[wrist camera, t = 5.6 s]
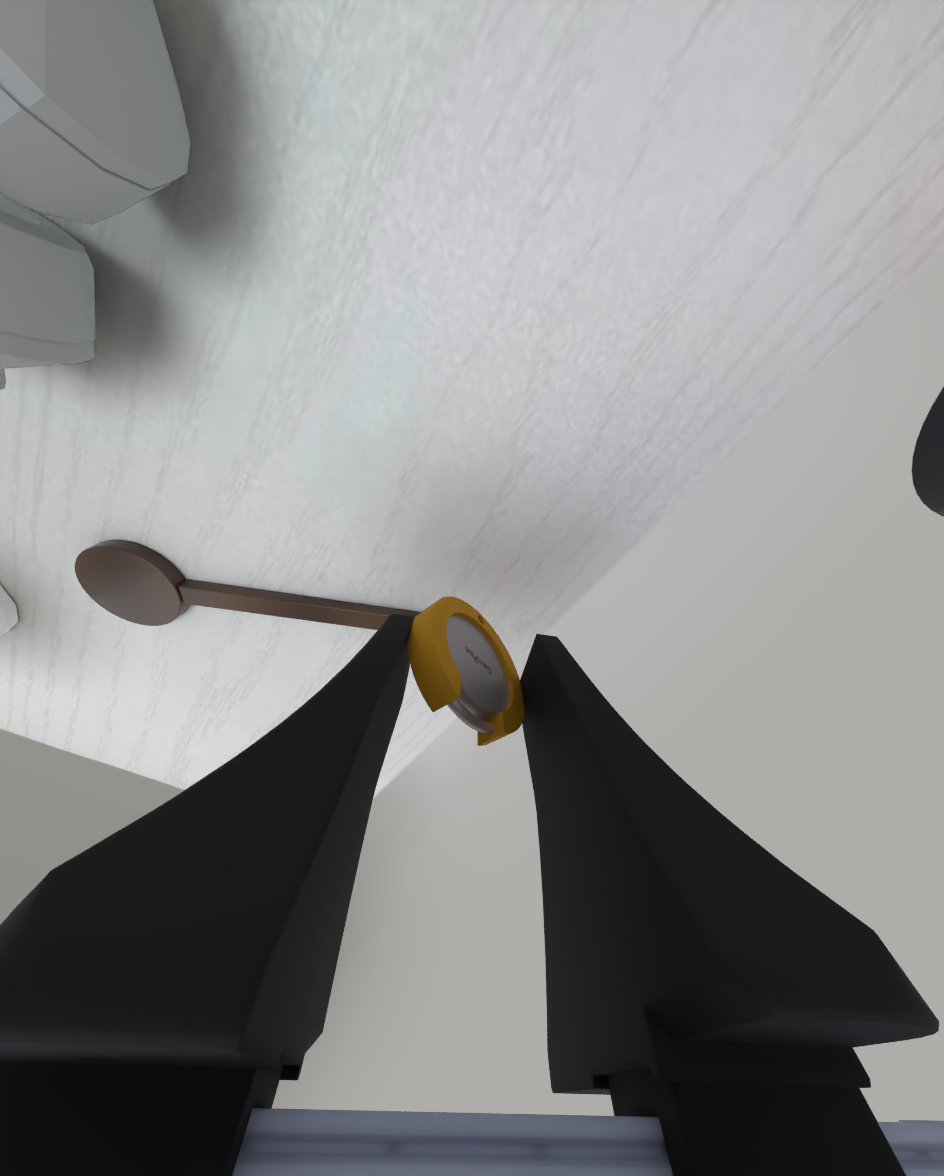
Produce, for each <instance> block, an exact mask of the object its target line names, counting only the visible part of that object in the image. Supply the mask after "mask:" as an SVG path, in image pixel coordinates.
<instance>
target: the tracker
mask: <svg viewBox="0 0 944 1176" xmlns="http://www.w3.org/2000/svg"><path fill="white" fill-rule="evenodd" d="M408 654H409V660H410V664H411V668H412V671H413V675H414V677H415V680H416V683H417V685H418V687H419V689H420V691H421V694H422V695H423V697H424V699H425V701H426V703H427V704H428V706H429V707H430V709H431V710H432V712H435V711H436V710H438V709H440V708H442V707H444V706H445V705H448V706H449V708H450V709H451V710H452V711H453V712H454V713H455V714H456V716H457V717H458V718H459V719H461V720H462V721H463V722H464V723H465V724H466V725H468V726H469V727H471V728H472V729H474V730H476V731H478V746H480V745H481V746H482V745H487V744H489V743H491V742H493V741H495V740H498V739H500V738H502V737H504V736H506V735H508V734H510V733H513V732H514V731H516V730H517V729H518V728H519V727H520V726H521V724H522V721H523V718H524V703H523V696H522V689H521V683H520V680H519V676H518V674H517V671H516V668H515V666H514V664H513V661H512V659H511V657H510V655H509V653H508V651H507V649H506V648H505V646H504V644H503V643H502V641H501V639H500V638H499V636H498V635H497V633H496V632H495V631H494V629H493V628H492V627H491V625H490V624H489V623H488V622H487V621H486V619H485V618H484V617H483V616H482V615H481V614H480V613H479V612H478V611H477V610H475V609H474V608H473V607H472V606H470V605H469V604H467V603H466V602H464V601H462V600H460V599H458V598H455V597H443V598H441V599H440V600H438V601H437V602H435V603H434V604H433V605H431V606H430V607H428V608H427V609H425V610H424V611H423V612H421V613H420V614H418V615H417V616H416V617H415V618H414V620H413V622H412V626H411V629H410V634H409V638H408Z"/></svg>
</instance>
